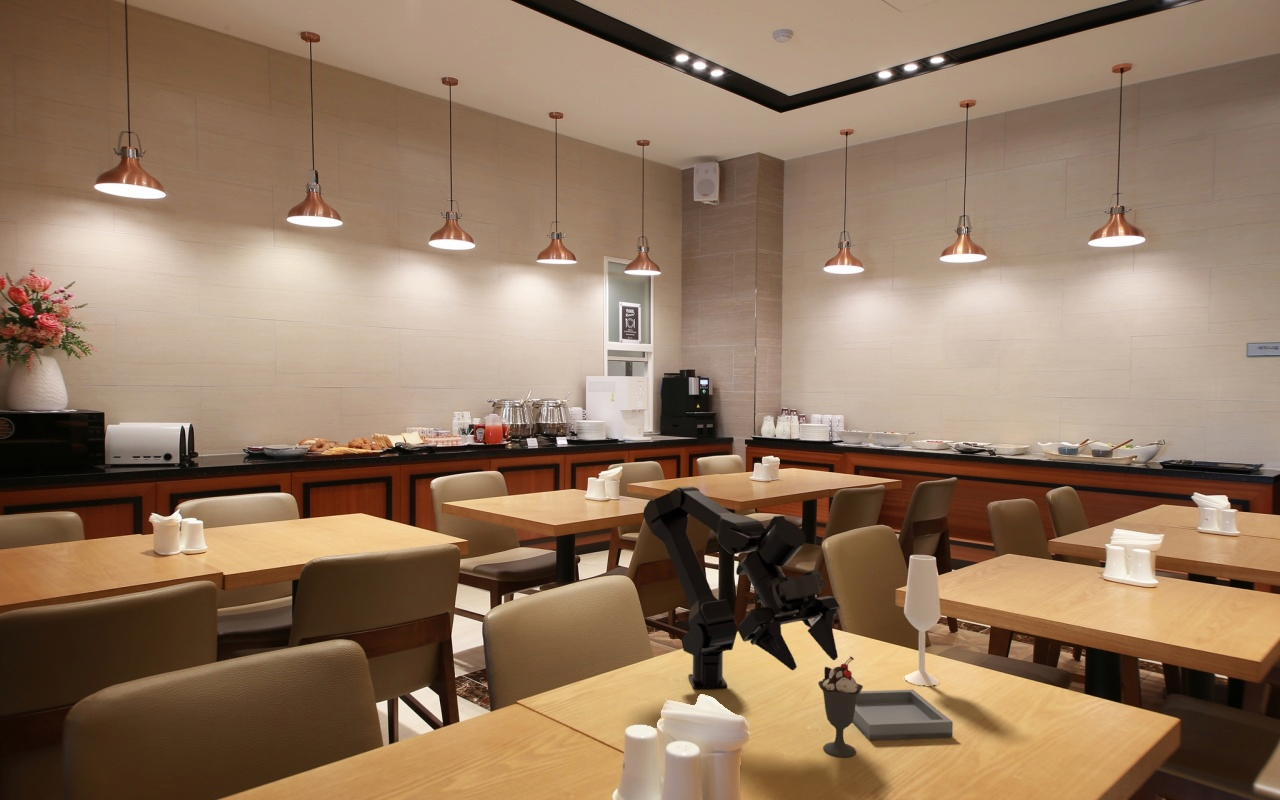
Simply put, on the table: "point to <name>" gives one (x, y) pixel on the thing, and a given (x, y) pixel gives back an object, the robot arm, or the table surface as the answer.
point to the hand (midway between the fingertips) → (815, 663)
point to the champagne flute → (922, 608)
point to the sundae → (839, 705)
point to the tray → (899, 716)
